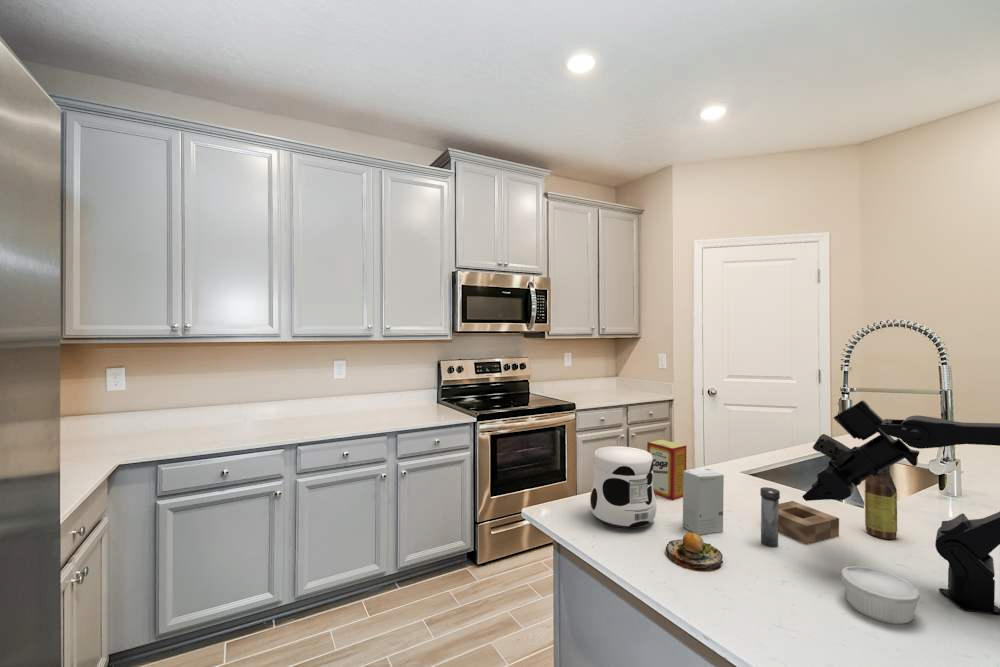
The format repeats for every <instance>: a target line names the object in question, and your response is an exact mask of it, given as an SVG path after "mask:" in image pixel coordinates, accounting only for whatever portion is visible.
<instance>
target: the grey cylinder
mask: <svg viewBox="0 0 1000 667" xmlns="http://www.w3.org/2000/svg"><path fill="white" fill-rule="evenodd" d="M759 494H760V496H761V497H760V498H761V504H760V509H761V510H760V543H761V545H763V546H765V547H767V548H772V549H773V548H774V549H775V548H778V547H779V532H778V519H779V504H780V503H779V502H780V499H781V498H780V497H781V496H780V495H781V491H780V490H779V489H776V488H773V487H766V486H764V487H760V493H759Z"/></svg>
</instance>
